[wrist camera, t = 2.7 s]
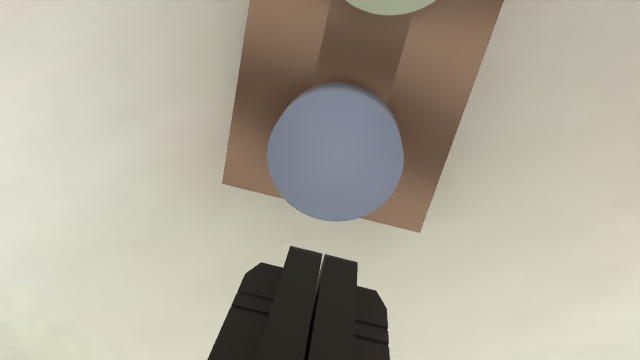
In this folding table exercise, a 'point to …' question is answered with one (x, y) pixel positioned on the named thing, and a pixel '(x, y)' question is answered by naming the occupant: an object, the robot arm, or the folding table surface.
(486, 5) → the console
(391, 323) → the folding table surface
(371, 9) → the sage button
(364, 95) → the blue button
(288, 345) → the robot arm
